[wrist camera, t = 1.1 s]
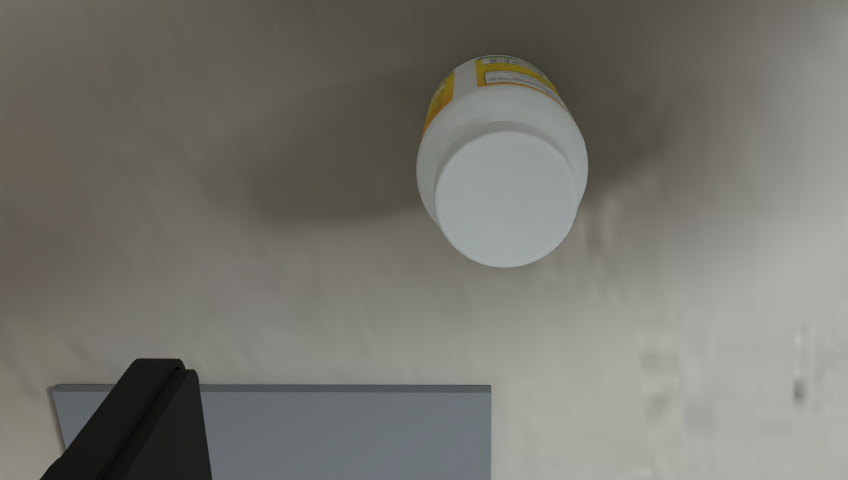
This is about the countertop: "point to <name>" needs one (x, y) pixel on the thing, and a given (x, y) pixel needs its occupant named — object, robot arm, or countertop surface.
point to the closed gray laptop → (329, 430)
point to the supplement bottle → (501, 162)
